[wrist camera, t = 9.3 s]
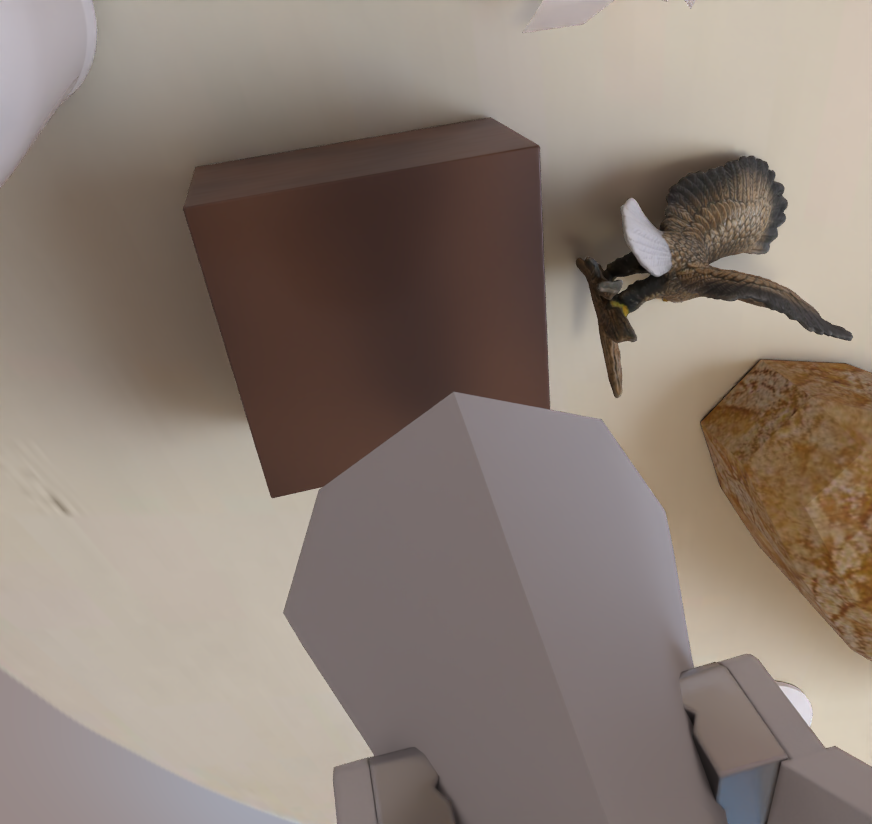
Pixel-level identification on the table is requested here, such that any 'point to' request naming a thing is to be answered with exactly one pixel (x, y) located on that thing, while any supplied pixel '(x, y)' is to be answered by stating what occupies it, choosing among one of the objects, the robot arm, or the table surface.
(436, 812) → the robot arm
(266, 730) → the table surface
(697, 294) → the eagle figurine
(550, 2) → the white bird figurine
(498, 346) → the walnut block
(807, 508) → the brown rock
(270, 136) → the table surface
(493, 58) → the table surface
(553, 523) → the flask
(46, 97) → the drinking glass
